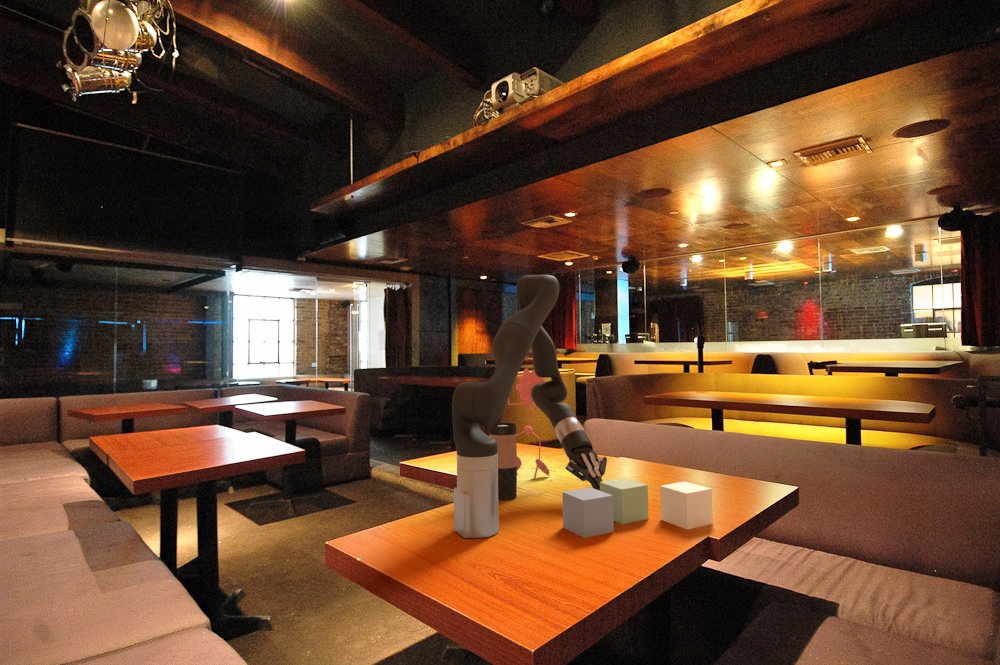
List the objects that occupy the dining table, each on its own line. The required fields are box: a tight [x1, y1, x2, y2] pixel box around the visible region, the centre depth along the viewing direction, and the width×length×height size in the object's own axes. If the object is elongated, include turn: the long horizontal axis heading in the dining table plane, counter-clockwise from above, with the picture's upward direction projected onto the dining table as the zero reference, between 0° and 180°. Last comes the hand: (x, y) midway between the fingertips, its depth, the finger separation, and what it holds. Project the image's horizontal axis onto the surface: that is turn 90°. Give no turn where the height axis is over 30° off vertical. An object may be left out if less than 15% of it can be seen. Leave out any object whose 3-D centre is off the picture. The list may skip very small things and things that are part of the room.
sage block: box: [600, 477, 649, 525], centre depth 124 cm, size 8×8×8 cm
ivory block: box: [659, 481, 714, 531], centre depth 119 cm, size 8×8×8 cm
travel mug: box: [488, 422, 518, 502], centre depth 143 cm, size 8×8×20 cm
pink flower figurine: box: [507, 367, 563, 482], centre depth 171 cm, size 15×26×35 cm, turn 52°
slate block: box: [561, 487, 615, 539], centre depth 115 cm, size 8×8×8 cm
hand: (601, 492), depth 131 cm, fingers closed
